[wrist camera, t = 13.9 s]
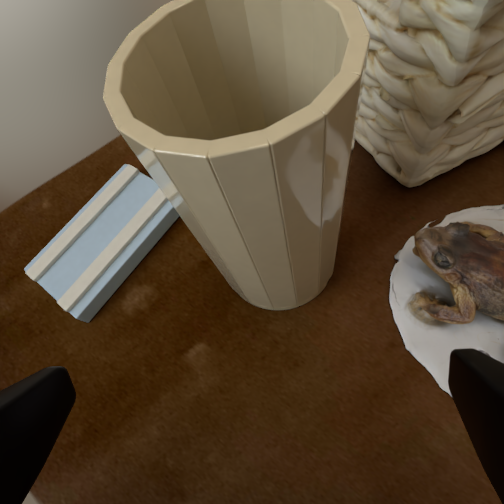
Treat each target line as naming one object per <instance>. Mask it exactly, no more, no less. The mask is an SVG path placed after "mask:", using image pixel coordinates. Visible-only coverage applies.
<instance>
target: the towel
mask: <svg viewBox="0 0 504 504" xmlns="http://www.w3.org/2000/svg"><path fill="white" fill-rule="evenodd" d="M179 216H180V215H179V214H178V213H177V211H176V210H175V209H174V207H173V206H172V204H171V203H170V202H169V200H168V199H167V198H166V196H165V195H164V193H163V192H162V191H161V189H160V188H159V186H158V185H157V184H156V182H155V181H154V180H153V179H151V178H149V177H148V176H146V175H144V174H142V173H141V172H140V171H139V170H138V169H137V168H135V167H133V166H131V165H130V164H129V165H127V164H124V165H123V166H122V167H121V168H120V169H119V170H118V171H117V172H116V174H115V175H114V176H113V177H112V178H111V179H110V180H109V181H108V182H107V183H106V184H105V185H104V186H103V187H102V188H101V189H100V190H99V191H98V192H97V193H96V194H95V195H94V196H93V197H92V199H91V200H90V201H89V202H88V203H87V204H86V205H85V206H84V207H83V208H82V209H81V210H80V211H79V212H78V213H77V214H76V215H75V216H74V217H73V218H72V219H71V220H70V221H69V222H68V223H67V225H66V226H65V227H64V228H63V229H62V230H61V231H60V232H59V233H58V234H57V235H56V236H55V237H54V238H53V239H52V240H51V241H50V242H49V243H48V244H47V245H46V246H45V247H44V248H43V250H42V251H41V252H40V253H39V254H38V255H37V256H36V257H35V258H34V259H33V260H32V261H31V262H30V263H29V264H28V265H27V266H26V267H25V268H24V270H25V271H26V272H25V273H26V274H27V275H28V276H29V277H30V278H31V279H32V280H33V281H36V282H38V283H39V284H40V285H41V286H42V287H43V288H44V289H45V290H46V291H47V292H48V293H49V294H50V295H52V296H53V297H54V298H55V299H56V300H57V303H58V304H59V305H60V306H61V307H62V308H63V309H64V310H65V311H67V312H70V313H71V314H72V315H73V316H74V317H75V318H76V319H79V320H82V321H85V322H90V320H91V319H92V318H93V317H94V316H95V315H96V313H97V312H98V311H99V310H100V309H101V307H102V306H103V305H104V304H105V303H106V302H107V300H108V299H109V298H110V297H111V296H112V295H113V293H114V292H115V291H116V290H117V289H118V288H119V286H120V285H121V284H122V283H123V282H124V280H125V279H126V278H127V277H128V276H129V275H130V273H131V272H132V271H133V270H134V269H135V268H136V266H137V265H138V264H139V263H140V262H141V261H142V259H143V258H144V257H145V256H146V255H147V253H148V252H149V251H150V250H151V249H152V248H153V246H154V245H155V244H156V243H157V242H158V241H159V239H160V238H161V237H162V236H163V235H164V233H165V232H166V231H167V230H168V229H169V228H170V226H171V225H172V224H173V223H174V222H175V221H176V219H177V218H178V217H179Z"/></svg>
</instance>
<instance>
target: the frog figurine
mask: <svg viewBox="0 0 504 504" xmlns="http://www.w3.org/2000/svg"><path fill="white" fill-rule="evenodd" d="M437 220H438V219H437ZM433 222H434V221H433ZM429 223H431V222H429ZM429 223H428V224H426V226H425V227H424V228H422V229H421V230H419V231H418V232H417V233H416V234H415V236H411V237H410V238H409V239H408V241H407V242H406V244H405V245H404V247H403V249H402V250H399V252H398V253H397V254H396V255H395V259H397V260H399V262H397V263H396V264H395V266H394V268H393V271H392V272H391V277H390V282H391V283H390V294H389V302H390V305H391V308H392V311H393V317H394V320H395V323H396V324H397V326H398V329H399V331H400V334H401V336H402V338H403V341H404V344H405V348H406V349H407V350H408V351H410V353H411V354H412V355H413V356H414V357H415V358H416V359H417V361H419V362H420V363H421V364H422V365H423V366H424V367H426V369H427V370H428V371H429V372H430V373H431V374H432V376H433V377H434V378H435V380H436V382H437V383H438V384H439V387H440V388H441V389H442V390H444V391H446V392H447V393H448V394H449V395H450V396H451V397H452V395H451V393H450V390H449V385H448V375H449V362H450V354H451V351H452V350H454V349H467V348H473V349H476V350H478V351H480V352H482V353H484V354H486V355H488V356H490V357H492V358H494V359H496V360H498V361H500V362H502V363H504V204H503V205H496V206H481V207H476V208H474V207H472V208H469V209H464V210H461V211H459V212H455V213H451V214H449V215H447V216H446V217H445V218H444V220H443V221H442V222H441V223H440V224H438V225H436V226H434V227H430V228H429V226H428V225H429ZM498 339H499V340H498Z"/></svg>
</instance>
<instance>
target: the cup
mask: <svg viewBox="0 0 504 504" xmlns="http://www.w3.org/2000/svg"><path fill="white" fill-rule="evenodd" d="M369 45H370V33H369V31H368V29H367V26H366V24H365V22H364V19H363V17H362V15H361V12H360V10H359V8H358V5H357V4H356V3H355V2H354V1H353V0H173V1H171V2H169V3H167V4H165V5H163V6H162V7H161V8H159V9H158V10H156V11H155V12H154V13H153V14H151V15H150V16H149V17H148V18H147V19H145V20H144V21H143V22H142V23H141V24H139V25H138V26H137V27H136V28H135V29H133V30H132V31H131V32H130V34H128V35H127V37H126V38H125V40H124V41H123V43H122V44H121V46H120V47H119V49H118V50H117V52H116V53H115V55H114V56H113V58H112V59H111V61H110V62H109V65H108V67H107V74H106V80H105V86H104V93H103V100H104V102H105V105H106V107H107V109H108V111H109V113H110V115H111V117H112V119H113V122H114V124H115V126H116V128H117V130H118V131H119V133H120V134H121V135H122V137H123V138H124V140H125V141H126V142H127V144H128V145H129V146H130V148H131V149H132V151H133V152H134V153H135V155H136V156H137V157H138V159H139V160H140V162H141V163H142V164H143V166H144V167H145V169H146V170H147V171H148V173H149V174H150V175H151V177H152V178H153V180H154V181H155V182H156V184H157V185H158V186H159V188H160V189H161V191H162V192H163V193H164V195H165V196H166V198H167V199H168V200H169V202H170V203H171V204H172V206H173V207H174V209H175V210H176V211H177V213H178V214H179V215H180V217H181V218H182V220H183V221H184V222H185V224H186V225H187V226H188V228H189V229H190V231H191V232H192V233H193V235H194V236H195V238H196V239H197V240H198V242H199V243H200V244H201V246H202V247H203V249H204V250H205V251H206V253H207V254H208V255H209V257H210V258H211V260H212V261H213V262H214V264H215V265H216V267H217V268H218V269H219V271H220V272H221V273H222V275H223V276H224V278H225V279H226V280H227V282H228V283H229V284H230V286H231V287H232V289H233V290H234V291H236V292H237V293H238V294H239V295H240V296H241V297H242V298H243V299H244V300H246V301H247V302H249V303H251V304H253V305H255V306H257V307H260V308H263V309H269V310H287V309H292V308H296V307H299V306H302V305H304V304H306V303H308V302H309V301H311V300H312V299H314V298H315V297H316V296H317V295H318V294H320V293H321V292H322V290H323V289H324V288H325V287H326V285H327V284H328V282H329V280H330V278H331V276H332V274H333V270H334V266H335V261H336V256H337V251H338V244H339V238H340V231H341V225H342V218H343V212H344V206H345V199H346V193H347V186H348V180H349V173H350V167H351V160H352V154H353V148H354V141H355V135H356V128H357V122H358V115H359V109H360V103H361V96H362V90H363V83H364V77H365V70H366V64H367V57H368V51H369Z"/></svg>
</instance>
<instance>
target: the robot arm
mask: <svg viewBox="0 0 504 504" xmlns="http://www.w3.org/2000/svg"><path fill="white" fill-rule="evenodd" d="M448 385H449V390H450V393H451V395H452V398H453V400H454V402H455V404H456V407H457V409H458V411H459V414H460V416H461V418H462V421H463V423H464V425H465V428H466V430H467V432H468V435H469V437H470V439H471V441H472V444H473V446H474V448H475V451H476V453H477V455H478V457H479V460H480V462H481V464H482V466H483V468H484V470H485V472H486V474H487V476H488V478H489V480H490V482H491V484H492V485H493V487H494V489H495V491H496V493H497V495H498V496H499V498H500V500H501V502H502V504H504V363H502V362H500V361H498V360H496V359H494V358H492V357H490V356H488V355H486V354H484V353H482V352H480V351H478V350H476V349H473V348H467V349H454V350H452V351H451V354H450V362H449V375H448ZM75 399H76V392H75V389H74V386H73V384H72V381H71V379H70V376H69V374H68V371H67V369H65V368H64V367H61V366H57V367H47V368H44V369H42V370H40V371H38V372H36V373H34V374H32V375H30V376H29V377H27V378H25V379H23V380H21V381H19V382H17V383H15V384H13V385H11V386H9V387H7V388H5V389H3V390H1V391H0V504H22V503H23V501H24V499H25V498H26V496H27V494H28V493H29V491H30V489H31V487H32V486H33V484H34V482H35V480H36V479H37V477H38V475H39V473H40V472H41V470H42V468H43V466H44V464H45V462H46V460H47V458H48V456H49V455H50V452H51V450H52V448H53V446H54V444H55V442H56V440H57V438H58V436H59V434H60V432H61V430H62V428H63V426H64V423H65V421H66V419H67V417H68V415H69V413H70V411H71V409H72V407H73V405H74V403H75Z"/></svg>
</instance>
